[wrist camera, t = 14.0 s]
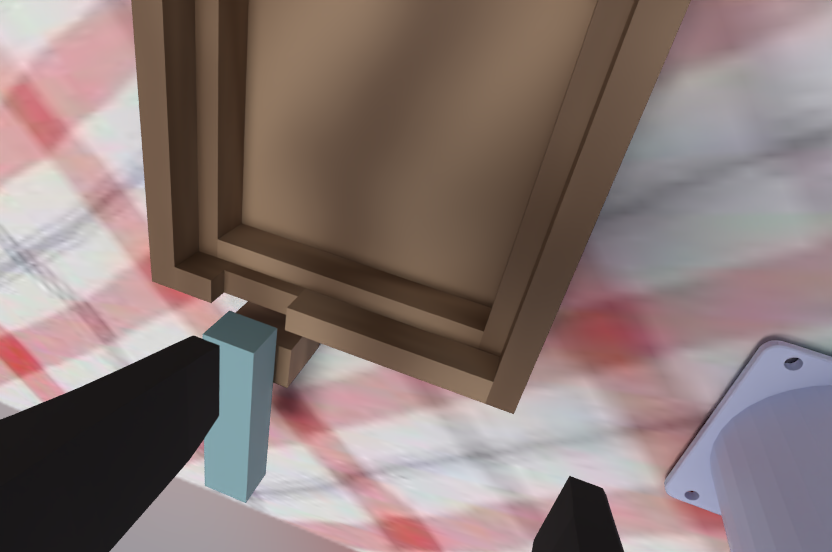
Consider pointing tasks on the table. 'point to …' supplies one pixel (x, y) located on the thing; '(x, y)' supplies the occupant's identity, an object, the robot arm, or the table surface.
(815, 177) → the table surface
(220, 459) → the rectangular block
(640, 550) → the table surface
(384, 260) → the tray
